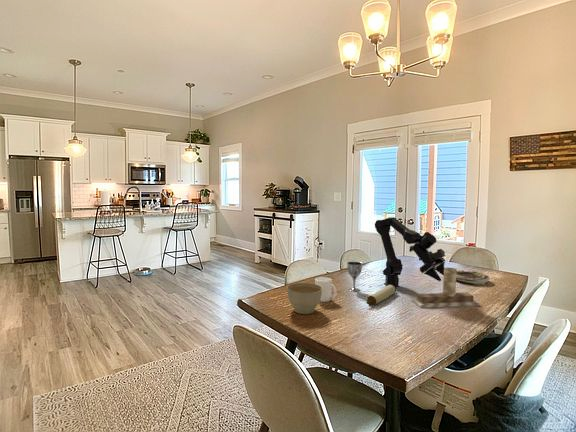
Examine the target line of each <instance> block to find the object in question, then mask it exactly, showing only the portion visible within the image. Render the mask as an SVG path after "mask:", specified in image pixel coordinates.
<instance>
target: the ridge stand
mask: <svg viewBox="0 0 576 432" xmlns="http://www.w3.org/2000/svg"><path fill="white" fill-rule="evenodd" d="M416 295H417V296H416V298H411V300H410V301H411V302H412V303H413V304H415V305H416V306H417V307H419V308H441V307H442V308H443V307H444V308H445V307H446V308H447V307H468V306H469V307H470V306H471V307H473V306H481V305H480V302H479V301H477V300H474V295H472V294H471V293H469V292H456V294H455V295H454V296H453V297H451V296H446V295H443V292H439V293H417V294H416Z"/></svg>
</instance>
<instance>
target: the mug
mask: <svg viewBox="0 0 576 432" xmlns="http://www.w3.org/2000/svg"><path fill="white" fill-rule="evenodd" d="M314 282H315V283H314V284H316V285H319V286H321V287H322V295H321V299H320V302H322V303H323V302H324V303H326V302H330V301H331V300H332V299H334V298H336V296H337V294H338V293H337V292H338V291H337V288H336V286H335V284H333V283H332V282H333V281H332V278H329V277H327V276H326V277H325V276H319V277H316V278H315V279H314ZM332 289H333V294H332ZM320 302H319V303H320Z"/></svg>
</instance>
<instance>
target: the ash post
mask: <svg viewBox="0 0 576 432" xmlns="http://www.w3.org/2000/svg"><path fill="white" fill-rule="evenodd" d="M457 271H458V268H455V267H448V266H446V267H445V268H444V276H443V279H442V280H443V281H442V282H443V283H442V293H443V295H446V296H451V297H453V296H454V295H455V294H456V293H457V292H456V291H457V290H456V288H457V287H456V286H457V281H456V274H457Z"/></svg>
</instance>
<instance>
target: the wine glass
mask: <svg viewBox="0 0 576 432" xmlns="http://www.w3.org/2000/svg"><path fill="white" fill-rule="evenodd" d="M346 263H347V265H346V266H347V267H346V269H347V273H348V275H349V276H350V277H351V279H352V282H353V285H352V287H350V288H349V289H348V288H347V291H348V290H349V292H351V291H352V293H358V292H361V291H362V290H361V289H360V288H357V287H356V280H357V278H358V277H359V276H360V275H361V273H362V269H363V263H362V262H359V261H348V262H346Z"/></svg>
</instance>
